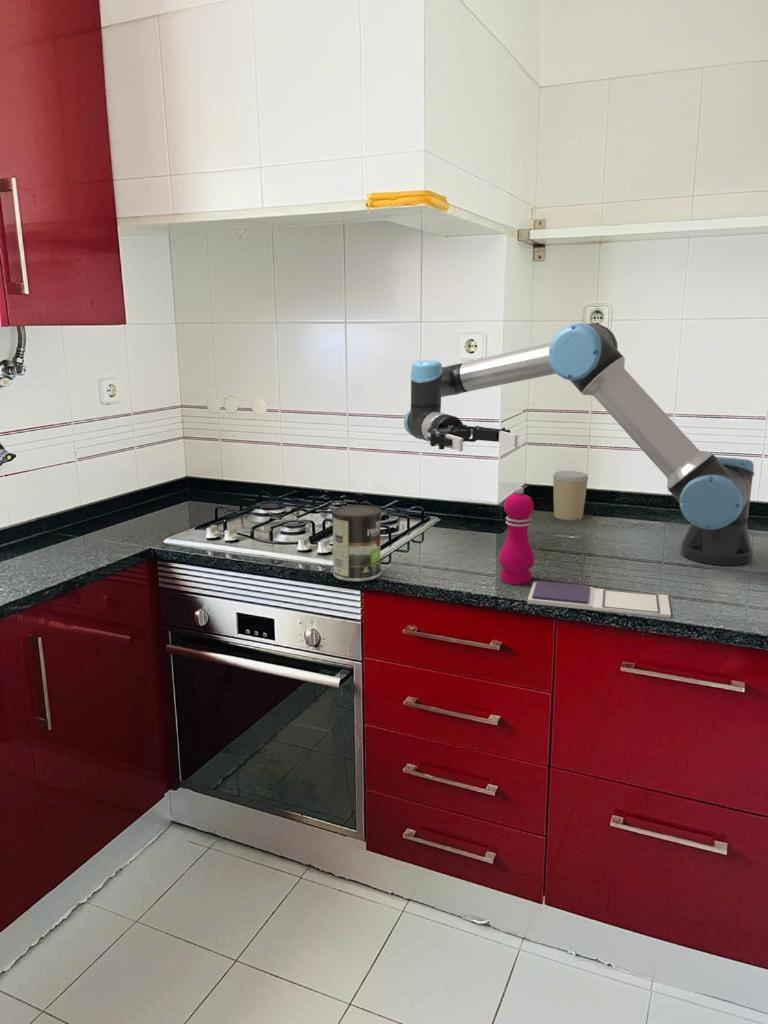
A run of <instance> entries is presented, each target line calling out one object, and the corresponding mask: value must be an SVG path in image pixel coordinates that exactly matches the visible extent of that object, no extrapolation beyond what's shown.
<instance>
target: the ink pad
mask: <svg viewBox="0 0 768 1024" xmlns="http://www.w3.org/2000/svg"><path fill="white" fill-rule="evenodd" d="M594 588H595V586H590V585H586V584H585V585H584V584H576V583H575V584H573V583H564V582H563V583H562V582H554V581H545V580H544V581H543V580H537V581H533V582H532V586H531V588H530V590H529V594H528V597H527V604H530V605H539V606H547V607H548V606H549V607H550V606H551V607H557V608H569V609H579V610H586V611H588V610H589V611H593V610H592V602H593V593H594Z"/></svg>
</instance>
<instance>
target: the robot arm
mask: <svg viewBox="0 0 768 1024" xmlns="http://www.w3.org/2000/svg"><path fill="white" fill-rule="evenodd" d="M618 347H619V346H618V342H617V338H616V336H615V334H614V333H613V332H612V330H611V329H610V328H608V327H606V326H604V325H602V324H599V323H581V322H577V323H576V322H575V323H572V324H570V325H567V326H565V327H563V328H561V329H560V330H559V331H558V332H557V333H556V334H555V335H554V336H553V337H552V340H551V342H548V343H544V344H539V345H535V346H530V347H526V348H521V349H518V350H513V351H509V352H505V353H500V354H495V355H491V356H486V357H483V358H477V359H474V360H470V361H464V362H462V363H461V362H460V363H456V364H453V365H452V364H451V365H447V366H443V364H442V363H441V362H440V361H438V360H415V361H413V362H412V364H411V372H410V373H411V374H410V409H409V411H407V413H406V414H405V417H404V419H403V425H404V426H403V427H404V429H405V430H406V432H407V433H408V434H409V435H410V436H412V437H414V438H415V439H418V440H423V441H426V442H429V443H430V444H429V445H430V446H431V447H438V449H439V450H445V448H449V449H452V450H455V451H458V452H464V451H463V450H464V443H465V442H471V443H474V442H477V441H485V442H495V443H496V442H498V443H499V444H501V445H505V446H507V447H512V448H518V440H519V435H518V434H515V433H511V429H506V427H501V429H500V428H493V427H486V426H485V427H484V426H479V425H476V426H474V425H471V426H470V425H466V424H464V423H463V421H462V420H461V419H460V418H458V417H457V416H455V415H451V414H447V413H444V412H441V410H442V409H441V408H442V398H444V397H449V396H456V395H457V396H458V395H460V394H463V393H468V392H472V391H478V390H483V389H488V388H492V387H498V386H502V385H506V384H507V385H508V384H512V383H517V382H521V381H526V380H527V381H528V380H532V379H536V378H537V379H538V378H543V377H547V376H553V375H558V376H559V377H561V378H562V379H564V380H567V381H570V382H571V383H572V385H573V386H574V387H575V388H576V389H577V390H578V392H580V394H582V395H583V396H592V397H594V399H596V400H597V402H598V403H599V404H600V405H601V406H602V407H603V408H604V409H605V410H606V411H607V413H608V414H609V415H610V416H611V417H612V418H613V419H614V420H615V422H616V423H617V424H618V425H619V426H620V427H621V428H622V429H623V430H624V432H625V433H626V434H627V435H628V436H629V437H630V438H631V439H632V441H634V443H635V444H636V445H637V446H638V447H639V448H640V450H641V451H642V452H643V453H644V454H645V455H646V456H647V457H648V458H649V460H650V461H651V462H652V463H653V464H654V465H655V466H656V467H657V468H658V469H659V471H661V472H662V474H663V475H664V476H665V477H666V479H667V485H666V489H667V490H668V492H669V493H670V494H671V495H672V496H673V497H674V499H676V501H677V502H678V503H679V509H680V511H681V513H682V515H683V517H684V518H685V519H686V520H687V522H688V523H690V525H689V526H688V529H687V531H686V533H685V536H684V537H683V539H682V542H681V545H680V554H681V555H682V556H683V557H684V556H685V557H684V558H686V557H687V558H686V559H688V558H689V560H692V561H695V562H698V563H702V564H708V565H714V564H716V565H717V566H728V565H731V566H741V565H740V564H743V565H746V563H747V564H748V563H751V562H752V559H753V546H752V542H751V539H750V534H749V529H748V519H749V511H750V503H751V502H750V501H751V494H752V485H753V479H754V476H755V470H754V462H753V461H752V460H750V459H747V458H735V457H726V456H725V457H724V456H715V454H714V453H713V452H706V451H705V452H704V451H700V449H698V447H697V446H696V445H695V443H694V442H692V441H691V440H690V439H689V437H688V436H687V435H686V434H685V433H684V431H682V430H681V429H680V428H679V426H677V424H676V423H675V422H674V421H673V420H672V419H671V418H670V416H669V415H668V414H666V412H665V411H664V410H663V409H662V408H661V407H660V406H659V405H658V403H656V402H655V401H654V399H653V397H651V395H649V394H648V392H646V391H645V389H644V388H643V387H642V385H640V384H639V382H637V381H636V380H635V379H634V377H633V376H632V375H631V374H630V373H629V372H628V371H627V370H626V369H625V361H626V360H625V359H626V358H625V357H624V355H623V354H622V353H621V352H620V351H619V350H618ZM471 437H472V438H471ZM716 565H715V566H716Z"/></svg>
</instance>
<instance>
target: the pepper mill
mask: <svg viewBox="0 0 768 1024" xmlns="http://www.w3.org/2000/svg"><path fill="white" fill-rule="evenodd" d="M524 491H525V490H524V487H523V486H519V485H518V486H516V487H515V489H514V493H512V494H510V495H508V496H507V497H506V498H505V500H504V503H503V511H504V512H505V513H506V514H507V516H506V517H505V519H506V520H505V524H506V525H507V534H506V537H505V540H504V543H503V544H502V546H501V549H500V552H499V554H498V555H499V556H498V562H499V565H500V566H501V568H502V569H501V570H500V580H501V581H502V582H503V583H505V584H509V585H524V584H528V583H530V582H531V579H532V577H531V576H532V573H531V571H530V569H531V568H532V567H533V566H534V563H535V557H534V553H533V549H532V546H531V545H530V542H529V537H528V532H529V530H528V529H529V526H530V525H531V517H530V515H532V513H533V511H534V508H535V506H534V501H533V500H532V499H533V498H531V497H530V496H529V495H527V494H526V493H524Z"/></svg>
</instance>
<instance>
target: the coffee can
mask: <svg viewBox="0 0 768 1024" xmlns="http://www.w3.org/2000/svg"><path fill="white" fill-rule="evenodd" d="M381 514H382V510H381V508H380V507H376V506H372V505H366V504H364V505H363V504H351V505H350V504H349V505H342V506H338V507H337V506H336V507H334V508H333V509H332V510H331V515H332V550H333V551H332V554H333V555H332V556H333V557H332V559H333V563H332V564H333V572H332V575H333V577H335V578H336V579H338V580H342V581H347V582H366V581H371V580H375V579H378V578H379V577H380V576H381V575H382V574H381Z"/></svg>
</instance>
